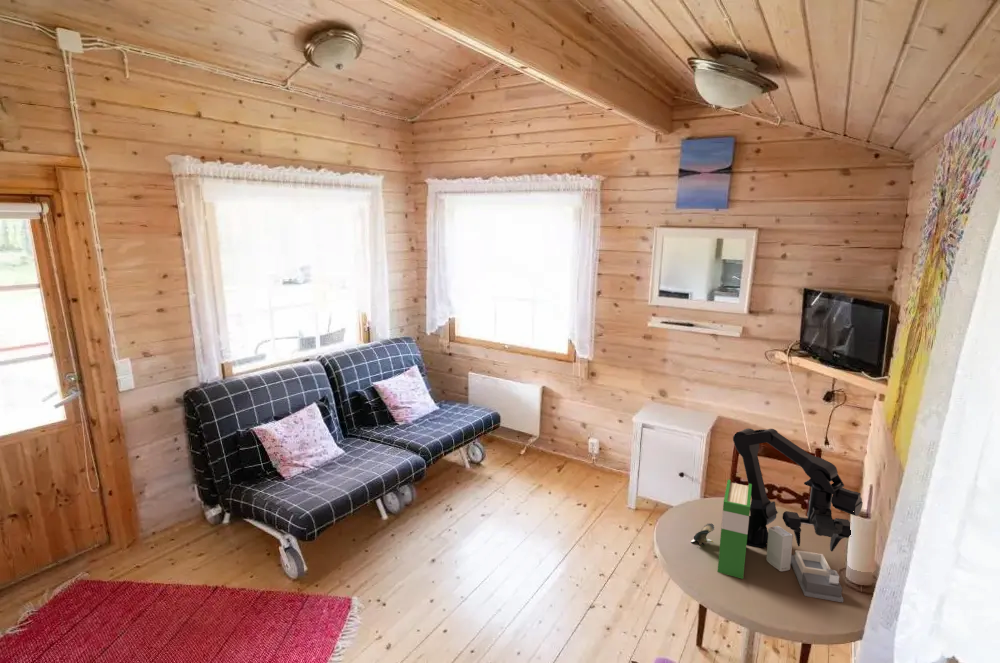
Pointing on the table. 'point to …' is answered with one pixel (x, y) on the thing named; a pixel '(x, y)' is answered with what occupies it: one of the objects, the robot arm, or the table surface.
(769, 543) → the skincare box
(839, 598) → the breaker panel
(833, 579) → the breaker handle
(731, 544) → the hardback book
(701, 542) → the eagle figurine
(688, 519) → the table surface
